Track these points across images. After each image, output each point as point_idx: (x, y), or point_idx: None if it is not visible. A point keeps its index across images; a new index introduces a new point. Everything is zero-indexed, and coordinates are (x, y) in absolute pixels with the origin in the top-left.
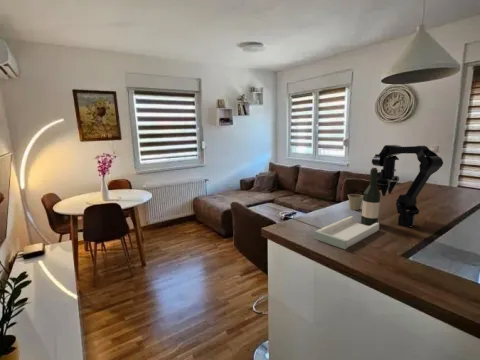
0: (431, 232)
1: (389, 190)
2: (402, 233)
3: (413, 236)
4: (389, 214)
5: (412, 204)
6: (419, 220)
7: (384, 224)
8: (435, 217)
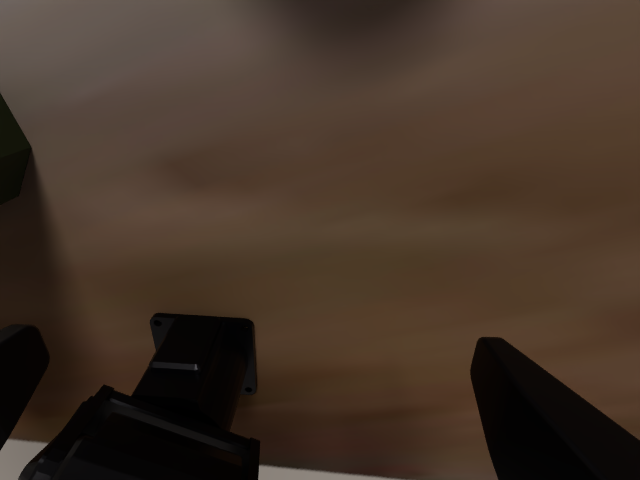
0: None
1: (512, 430)
2: None
3: (35, 411)
4: (430, 177)
5: None
6: (407, 386)
7: (67, 240)
8: None
